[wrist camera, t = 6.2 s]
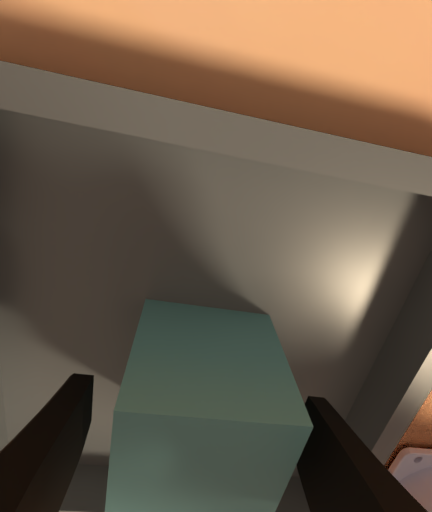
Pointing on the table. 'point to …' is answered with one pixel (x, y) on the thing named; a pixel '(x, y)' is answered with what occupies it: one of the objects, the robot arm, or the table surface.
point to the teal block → (204, 414)
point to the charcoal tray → (204, 253)
